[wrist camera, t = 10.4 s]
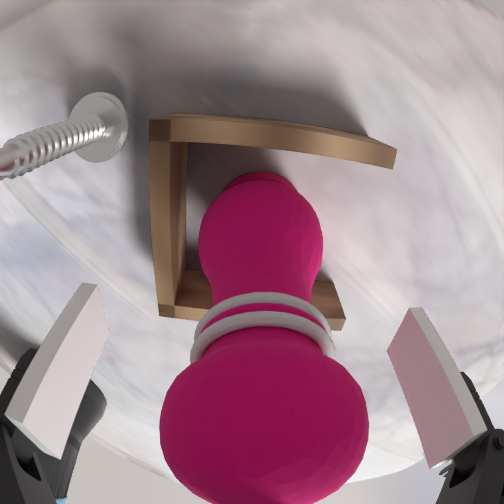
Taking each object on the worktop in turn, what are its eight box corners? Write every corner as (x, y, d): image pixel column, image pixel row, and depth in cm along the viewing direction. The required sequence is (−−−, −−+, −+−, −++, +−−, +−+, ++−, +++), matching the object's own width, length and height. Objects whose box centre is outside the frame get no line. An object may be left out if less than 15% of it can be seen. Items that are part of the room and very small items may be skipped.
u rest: (173, 280, 24) (159, 315, 20) (172, 113, 17) (149, 119, 14) (329, 293, 25) (341, 330, 21) (369, 136, 18) (397, 149, 14)
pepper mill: (189, 211, 21) (69, 521, 4) (263, 142, 18) (307, 578, 1) (256, 272, 24) (255, 555, 6) (329, 216, 21) (445, 519, 4)
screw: (86, 158, 19) (80, 97, 16) (142, 152, 19) (138, 85, 16) (-41, 240, 8) (-64, 135, 5) (19, 238, 7) (-6, 98, 5)
